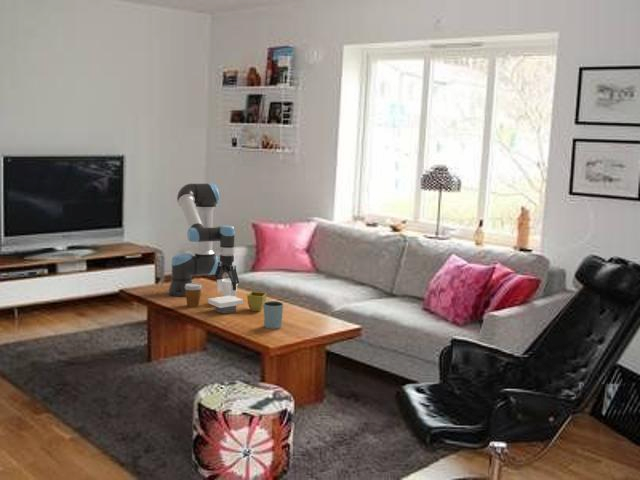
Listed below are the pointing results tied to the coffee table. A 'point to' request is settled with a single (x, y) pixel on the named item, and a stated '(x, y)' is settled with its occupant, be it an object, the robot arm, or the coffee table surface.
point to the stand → (226, 309)
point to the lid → (225, 301)
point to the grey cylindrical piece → (273, 314)
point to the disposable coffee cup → (193, 294)
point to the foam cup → (227, 287)
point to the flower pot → (256, 300)
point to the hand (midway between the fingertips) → (226, 293)
